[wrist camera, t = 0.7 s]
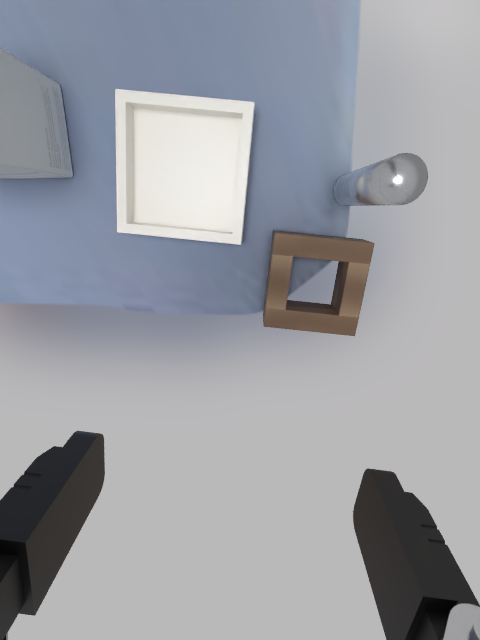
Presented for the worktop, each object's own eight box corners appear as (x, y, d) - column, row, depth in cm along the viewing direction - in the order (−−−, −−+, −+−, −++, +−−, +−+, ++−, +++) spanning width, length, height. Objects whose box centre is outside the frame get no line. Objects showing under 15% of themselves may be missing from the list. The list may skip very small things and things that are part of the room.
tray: (127, 98, 29) (115, 88, 27) (254, 110, 29) (254, 102, 26) (127, 230, 32) (117, 232, 30) (242, 241, 32) (240, 244, 30)
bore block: (273, 230, 32) (275, 233, 28) (362, 239, 31) (374, 243, 28) (263, 314, 34) (263, 326, 31) (345, 323, 34) (354, 336, 31)
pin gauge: (336, 172, 30) (383, 150, 18) (366, 175, 30) (433, 155, 18) (330, 204, 31) (373, 202, 19) (360, 207, 31) (420, 207, 19)
